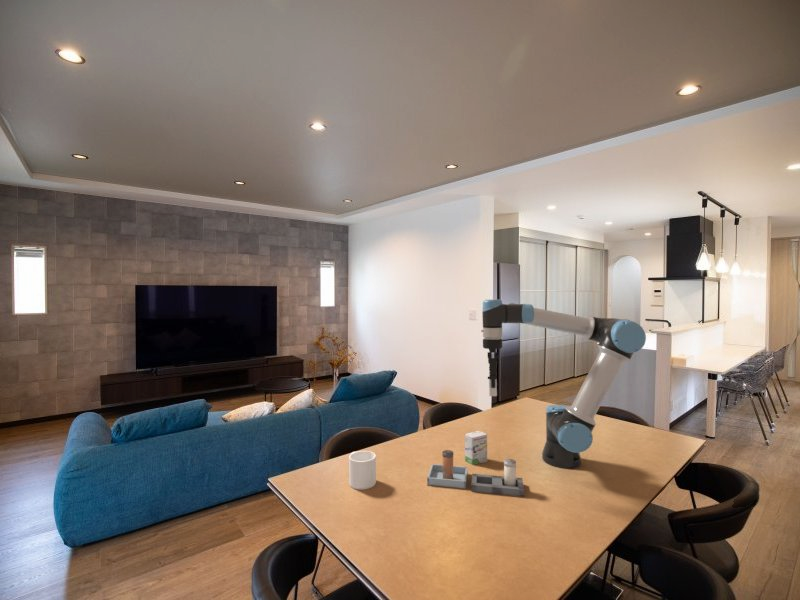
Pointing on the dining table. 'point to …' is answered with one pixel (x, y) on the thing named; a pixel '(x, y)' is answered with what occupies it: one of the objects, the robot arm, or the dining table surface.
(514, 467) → the cylinder
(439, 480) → the parts tray
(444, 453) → the fuse
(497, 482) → the block
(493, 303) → the robot arm
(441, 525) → the dining table surface
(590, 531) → the dining table surface
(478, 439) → the ink box
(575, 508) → the dining table surface
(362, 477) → the mug
